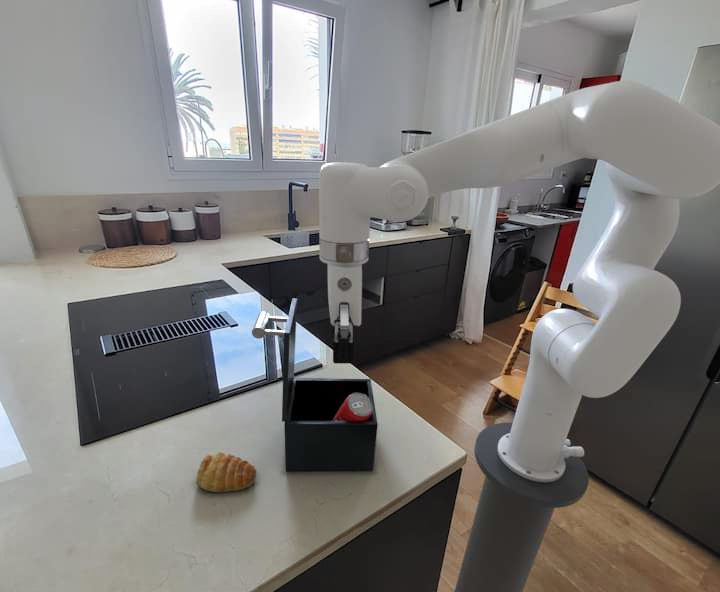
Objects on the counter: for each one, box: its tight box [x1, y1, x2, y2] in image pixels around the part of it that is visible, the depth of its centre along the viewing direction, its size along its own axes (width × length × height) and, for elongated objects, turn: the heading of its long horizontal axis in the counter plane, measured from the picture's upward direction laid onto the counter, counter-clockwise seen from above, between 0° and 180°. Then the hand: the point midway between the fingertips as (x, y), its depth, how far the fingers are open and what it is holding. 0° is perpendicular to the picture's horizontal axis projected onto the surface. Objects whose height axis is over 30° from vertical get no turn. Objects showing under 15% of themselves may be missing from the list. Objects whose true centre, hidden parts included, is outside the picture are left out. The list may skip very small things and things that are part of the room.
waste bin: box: [283, 377, 379, 473], centre depth 74 cm, size 16×14×11 cm
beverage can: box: [332, 393, 373, 421], centre depth 71 cm, size 5×5×12 cm
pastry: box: [195, 452, 257, 493], centre depth 66 cm, size 9×7×4 cm
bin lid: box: [251, 297, 298, 423], centre depth 67 cm, size 16×14×6 cm
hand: (342, 347), depth 67 cm, fingers open, 9 cm apart
